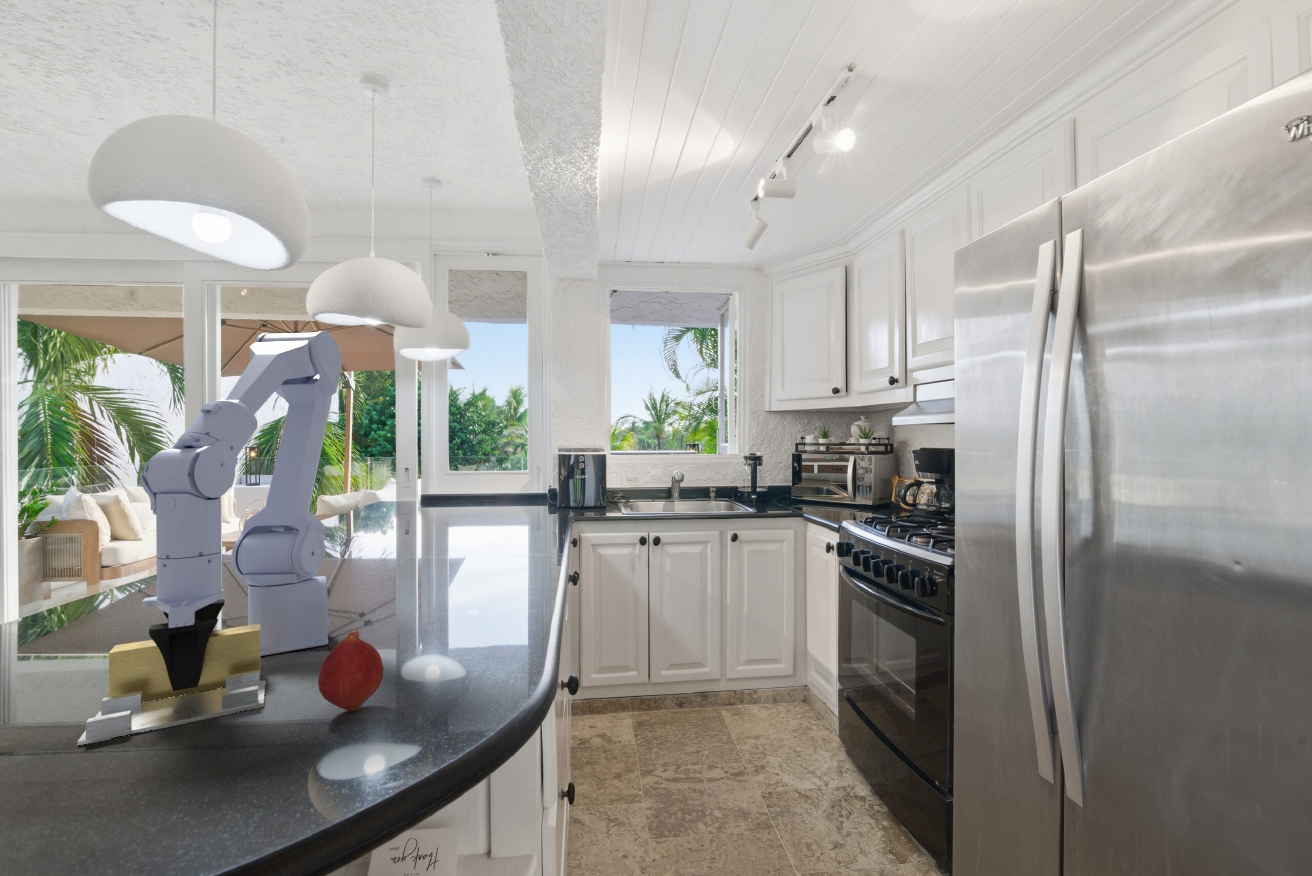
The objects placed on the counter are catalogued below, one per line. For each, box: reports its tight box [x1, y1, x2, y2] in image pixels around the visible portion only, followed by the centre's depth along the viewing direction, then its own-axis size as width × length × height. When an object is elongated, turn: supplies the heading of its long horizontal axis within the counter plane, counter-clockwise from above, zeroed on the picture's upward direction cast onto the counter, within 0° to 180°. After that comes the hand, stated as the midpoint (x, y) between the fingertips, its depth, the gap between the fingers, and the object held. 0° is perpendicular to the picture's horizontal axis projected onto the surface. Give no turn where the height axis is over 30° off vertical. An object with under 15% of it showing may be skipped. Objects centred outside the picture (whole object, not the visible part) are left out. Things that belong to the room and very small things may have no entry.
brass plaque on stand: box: [108, 624, 262, 702], centre depth 66 cm, size 13×3×6 cm, turn 123°
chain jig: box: [77, 670, 266, 746], centre depth 60 cm, size 14×8×2 cm, turn 123°
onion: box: [317, 630, 384, 712], centre depth 59 cm, size 6×6×8 cm
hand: (190, 676), depth 66 cm, fingers open, 7 cm apart
